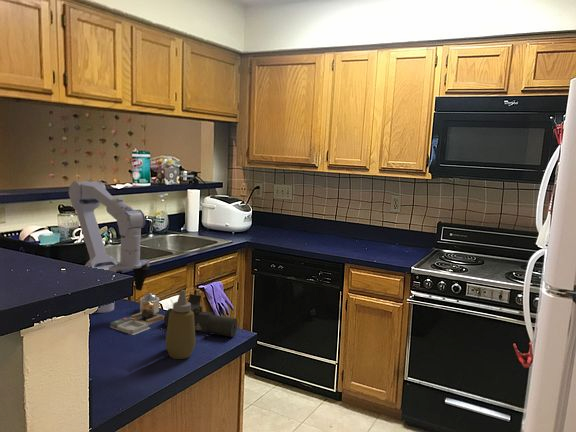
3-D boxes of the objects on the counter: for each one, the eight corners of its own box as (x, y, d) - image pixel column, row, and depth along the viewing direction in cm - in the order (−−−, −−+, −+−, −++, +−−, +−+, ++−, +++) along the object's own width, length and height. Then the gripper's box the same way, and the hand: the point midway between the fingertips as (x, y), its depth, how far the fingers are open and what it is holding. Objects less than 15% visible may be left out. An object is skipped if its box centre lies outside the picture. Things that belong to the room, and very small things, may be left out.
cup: (136, 313, 157) (136, 299, 156) (149, 309, 162) (149, 295, 161) (149, 317, 154) (149, 302, 153) (162, 313, 159) (163, 298, 158)
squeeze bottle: (198, 359, 126) (202, 293, 124) (168, 363, 123) (171, 296, 120) (190, 347, 133) (193, 285, 131) (161, 351, 130) (163, 287, 127)
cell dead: (141, 311, 157) (142, 293, 156) (149, 308, 160) (150, 291, 159) (149, 313, 155) (150, 295, 155) (157, 310, 159) (158, 293, 158)
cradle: (108, 330, 141) (109, 322, 141) (127, 323, 148) (127, 316, 147) (133, 338, 137) (133, 330, 136) (150, 331, 143) (151, 323, 143)
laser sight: (228, 343, 139) (230, 310, 137) (157, 332, 143) (158, 300, 142) (238, 331, 148) (240, 300, 147) (172, 321, 153) (173, 291, 151)
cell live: (139, 320, 149) (139, 301, 148) (147, 317, 152) (148, 299, 151) (147, 323, 147) (148, 304, 146) (155, 320, 150) (156, 301, 149)
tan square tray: (129, 323, 148) (129, 316, 148) (147, 316, 155) (148, 309, 155) (146, 328, 144) (146, 321, 144) (164, 321, 151) (165, 314, 151)
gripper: (121, 255, 137) (119, 300, 139) (157, 248, 149) (155, 289, 151) (104, 251, 140) (103, 295, 142) (140, 244, 153) (139, 285, 155)
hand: (129, 292), depth 147 cm, fingers open, 7 cm apart
